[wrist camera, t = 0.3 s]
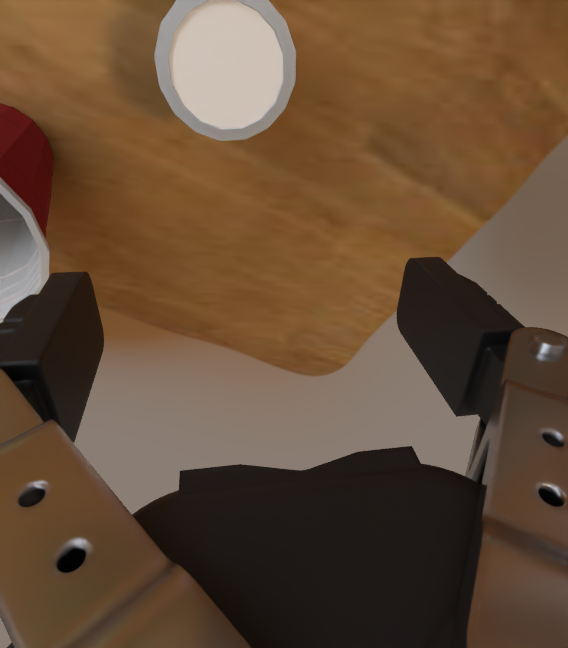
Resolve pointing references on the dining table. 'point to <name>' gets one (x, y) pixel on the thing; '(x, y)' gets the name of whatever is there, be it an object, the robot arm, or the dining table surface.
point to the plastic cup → (23, 207)
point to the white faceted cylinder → (225, 65)
